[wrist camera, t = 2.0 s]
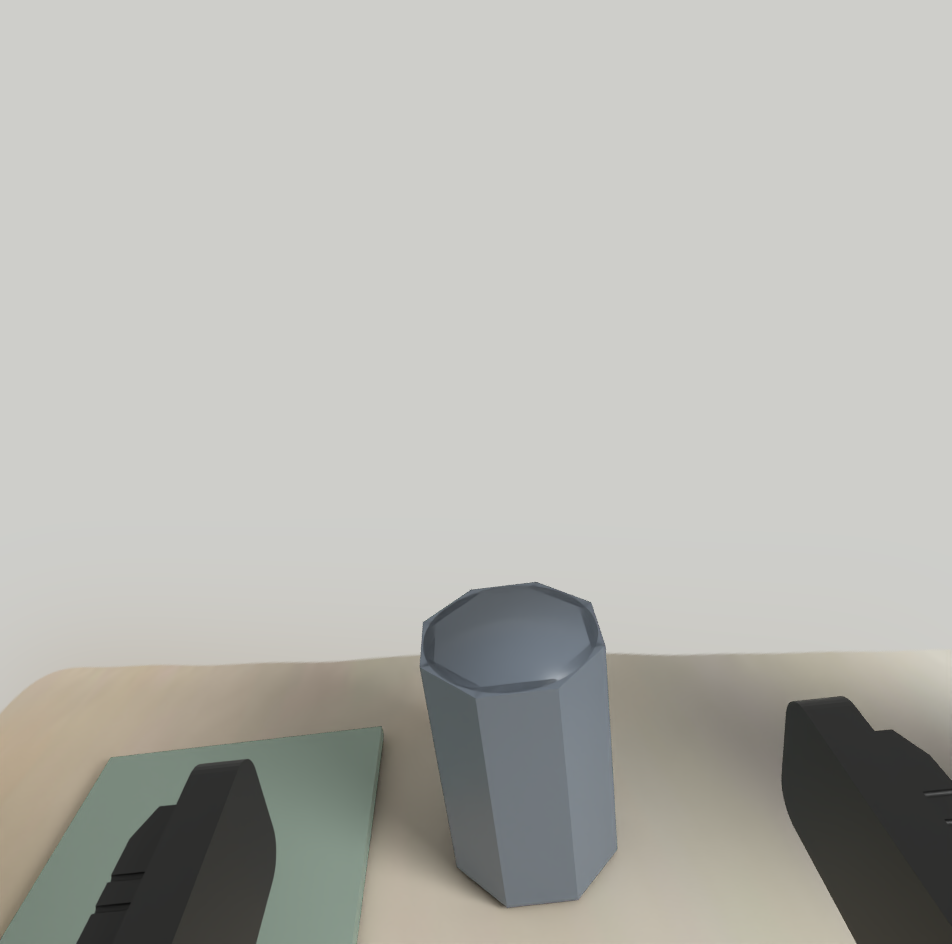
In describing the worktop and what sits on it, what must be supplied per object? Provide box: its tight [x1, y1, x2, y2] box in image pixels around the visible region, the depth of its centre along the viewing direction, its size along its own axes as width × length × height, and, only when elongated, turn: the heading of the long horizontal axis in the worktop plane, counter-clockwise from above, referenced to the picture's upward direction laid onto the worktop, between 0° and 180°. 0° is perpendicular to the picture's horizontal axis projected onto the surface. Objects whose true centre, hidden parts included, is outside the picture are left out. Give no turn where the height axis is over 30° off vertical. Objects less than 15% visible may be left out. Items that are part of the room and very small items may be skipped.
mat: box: [0, 726, 384, 944], centre depth 29 cm, size 14×13×1 cm
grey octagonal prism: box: [420, 582, 617, 908], centre depth 27 cm, size 6×6×10 cm
